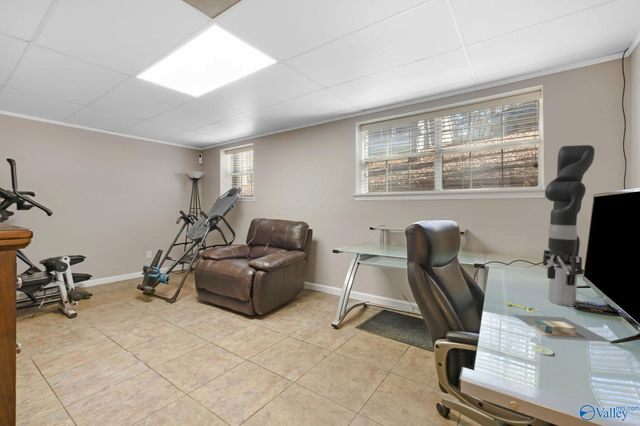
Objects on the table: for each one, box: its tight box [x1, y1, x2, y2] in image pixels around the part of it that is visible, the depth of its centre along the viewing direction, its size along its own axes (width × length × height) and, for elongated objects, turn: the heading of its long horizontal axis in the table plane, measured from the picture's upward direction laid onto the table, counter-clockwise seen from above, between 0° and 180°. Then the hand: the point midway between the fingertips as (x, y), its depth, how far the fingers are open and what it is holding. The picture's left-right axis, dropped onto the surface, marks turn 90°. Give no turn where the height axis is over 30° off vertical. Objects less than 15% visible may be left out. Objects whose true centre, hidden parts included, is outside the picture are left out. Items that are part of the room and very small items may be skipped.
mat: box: [512, 314, 613, 343], centre depth 100 cm, size 20×20×1 cm
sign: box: [531, 337, 554, 357], centre depth 88 cm, size 5×1×15 cm
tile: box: [535, 320, 576, 335], centre depth 97 cm, size 10×5×2 cm, turn 85°
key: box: [506, 301, 540, 314], centre depth 118 cm, size 7×12×2 cm, turn 61°
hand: (560, 281), depth 97 cm, fingers open, 8 cm apart
